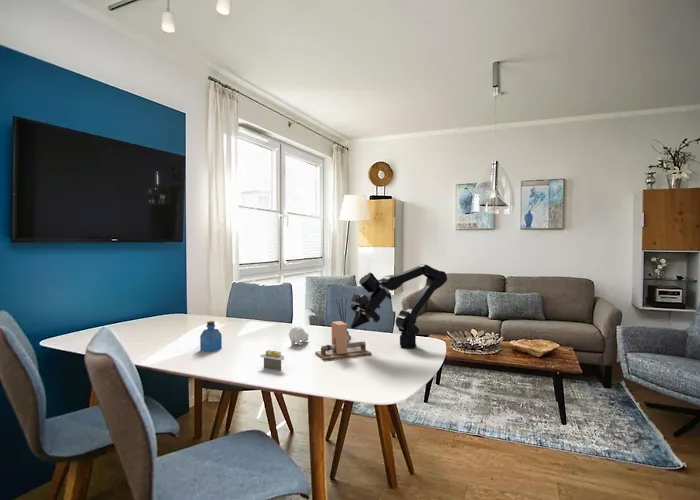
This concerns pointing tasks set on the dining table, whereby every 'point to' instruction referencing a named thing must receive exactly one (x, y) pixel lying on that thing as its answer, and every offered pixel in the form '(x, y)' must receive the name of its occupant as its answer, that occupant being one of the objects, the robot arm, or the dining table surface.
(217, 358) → the dining table surface
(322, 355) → the pipe rig
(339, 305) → the reed diffuser
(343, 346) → the peach rectangular block
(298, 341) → the white lumpy figurine
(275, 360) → the platform
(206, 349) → the perfume bottle
